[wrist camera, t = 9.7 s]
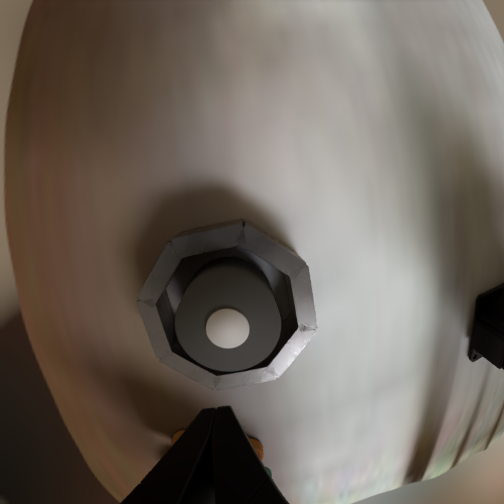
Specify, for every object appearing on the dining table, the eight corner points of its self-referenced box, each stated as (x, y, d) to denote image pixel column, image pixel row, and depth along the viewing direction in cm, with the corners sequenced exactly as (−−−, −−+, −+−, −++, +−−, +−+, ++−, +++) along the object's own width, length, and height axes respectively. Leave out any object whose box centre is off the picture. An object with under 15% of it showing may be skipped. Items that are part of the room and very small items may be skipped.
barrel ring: (289, 208, 16) (298, 211, 14) (312, 348, 18) (322, 368, 16) (137, 242, 16) (121, 251, 14) (179, 372, 18) (172, 395, 16)
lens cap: (262, 248, 17) (271, 267, 13) (278, 326, 18) (289, 362, 14) (178, 266, 17) (160, 289, 13) (200, 341, 18) (191, 380, 14)
